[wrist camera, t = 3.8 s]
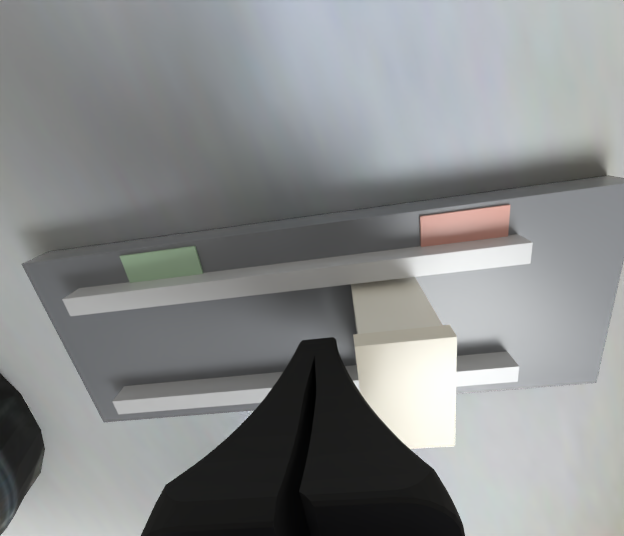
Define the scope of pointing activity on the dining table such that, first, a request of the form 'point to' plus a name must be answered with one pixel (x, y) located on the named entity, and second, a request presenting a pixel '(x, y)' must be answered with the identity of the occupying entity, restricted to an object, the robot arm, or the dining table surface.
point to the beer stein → (16, 451)
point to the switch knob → (406, 361)
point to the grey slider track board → (340, 295)
